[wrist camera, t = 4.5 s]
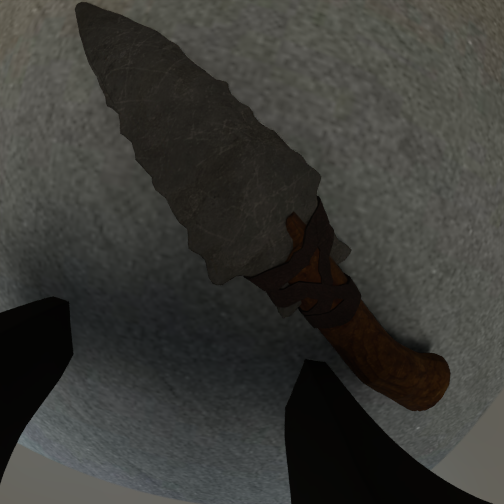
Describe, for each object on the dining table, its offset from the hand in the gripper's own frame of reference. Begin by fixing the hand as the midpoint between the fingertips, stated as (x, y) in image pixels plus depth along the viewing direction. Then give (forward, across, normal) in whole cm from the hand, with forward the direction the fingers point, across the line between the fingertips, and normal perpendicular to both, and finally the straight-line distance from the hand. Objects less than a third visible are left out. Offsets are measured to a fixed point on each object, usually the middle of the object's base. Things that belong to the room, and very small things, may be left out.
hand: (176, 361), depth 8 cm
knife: (+1, -1, -5) cm, 5 cm away
